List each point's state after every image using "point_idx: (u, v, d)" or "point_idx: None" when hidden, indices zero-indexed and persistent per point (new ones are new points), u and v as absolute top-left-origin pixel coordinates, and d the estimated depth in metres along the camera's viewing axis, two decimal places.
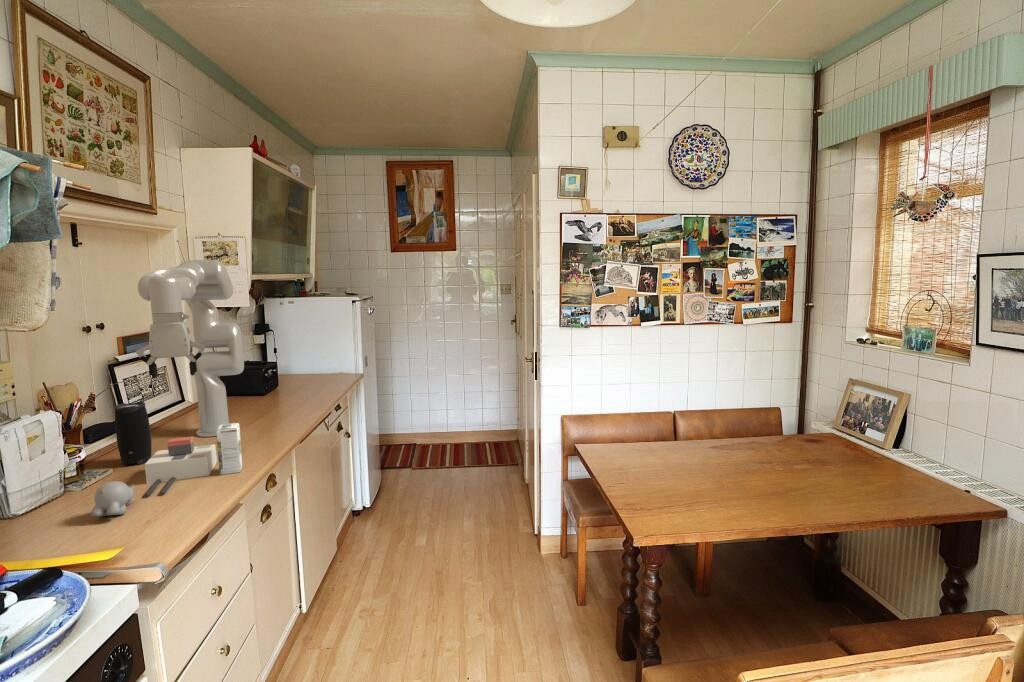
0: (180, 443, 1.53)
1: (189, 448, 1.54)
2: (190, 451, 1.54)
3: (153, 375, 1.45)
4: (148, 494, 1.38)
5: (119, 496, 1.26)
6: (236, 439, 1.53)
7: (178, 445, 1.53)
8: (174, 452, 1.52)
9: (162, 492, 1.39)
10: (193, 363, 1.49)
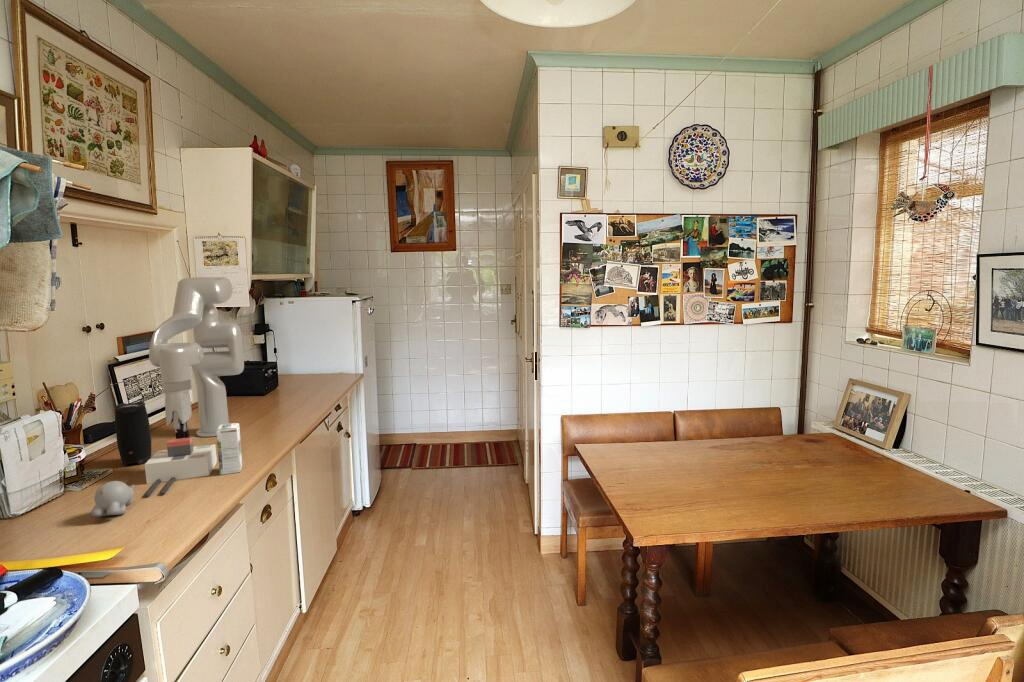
0: (179, 444, 1.52)
1: (188, 449, 1.53)
2: (189, 452, 1.53)
3: None
4: (148, 494, 1.38)
5: (119, 496, 1.26)
6: (236, 439, 1.53)
7: (177, 445, 1.52)
8: (173, 453, 1.52)
9: (162, 492, 1.39)
10: (186, 431, 1.57)
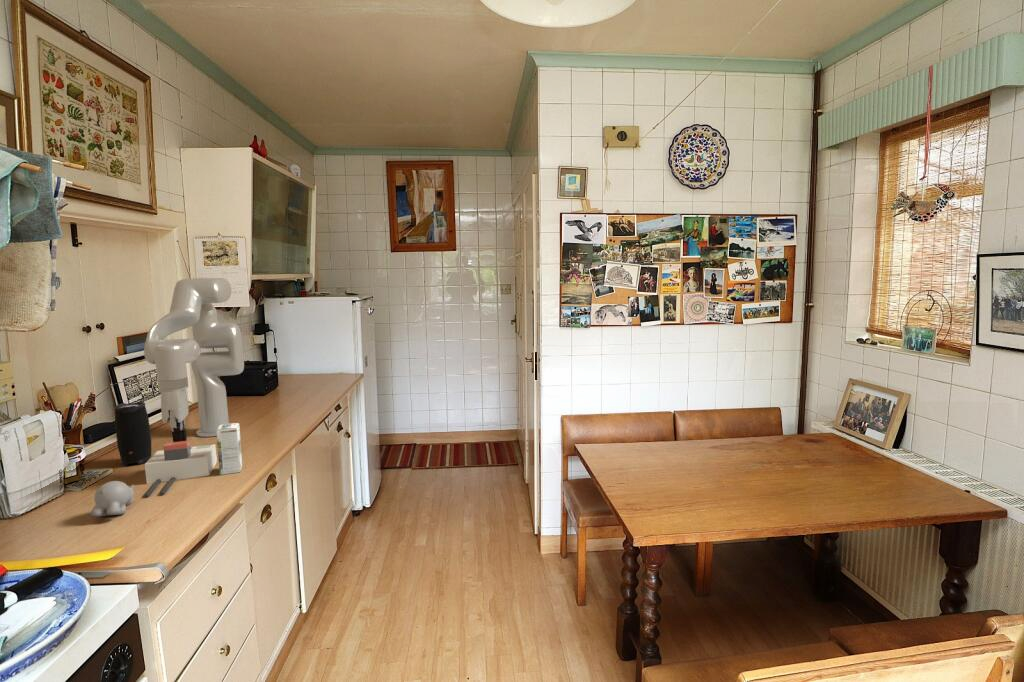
0: (176, 447, 1.49)
1: (186, 452, 1.50)
2: (187, 455, 1.50)
3: (185, 439, 1.54)
4: (148, 494, 1.38)
5: (119, 496, 1.26)
6: (236, 439, 1.53)
7: (174, 449, 1.49)
8: (170, 457, 1.49)
9: (162, 492, 1.39)
10: None
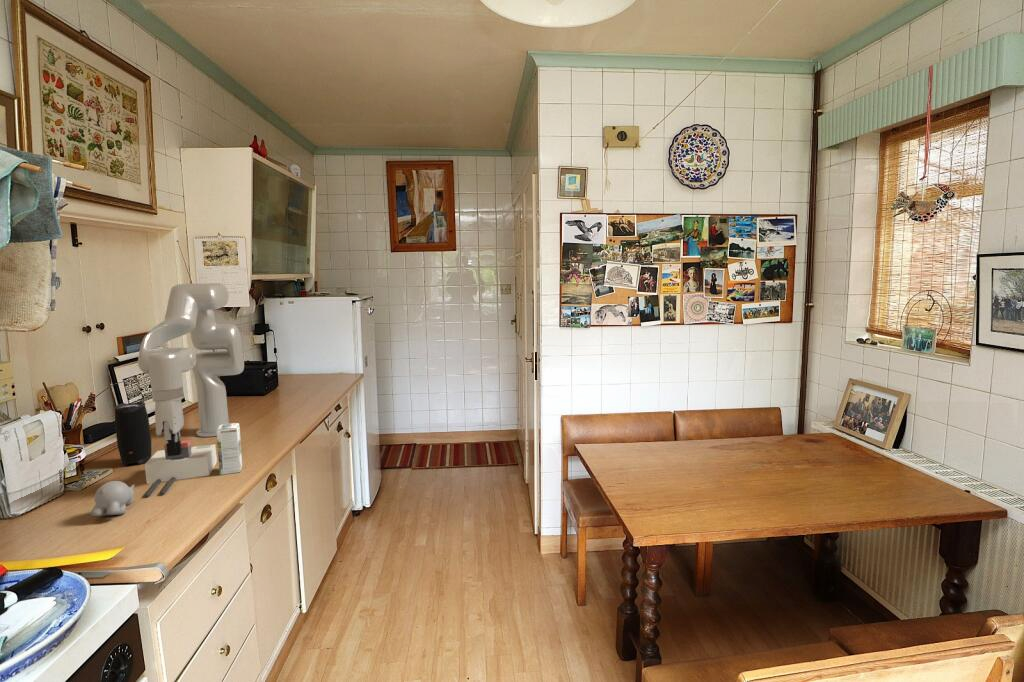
0: None
1: (186, 451, 1.51)
2: (187, 454, 1.51)
3: (180, 451, 1.48)
4: (148, 494, 1.38)
5: (119, 496, 1.26)
6: (236, 439, 1.53)
7: None
8: (171, 456, 1.49)
9: (162, 492, 1.39)
10: None
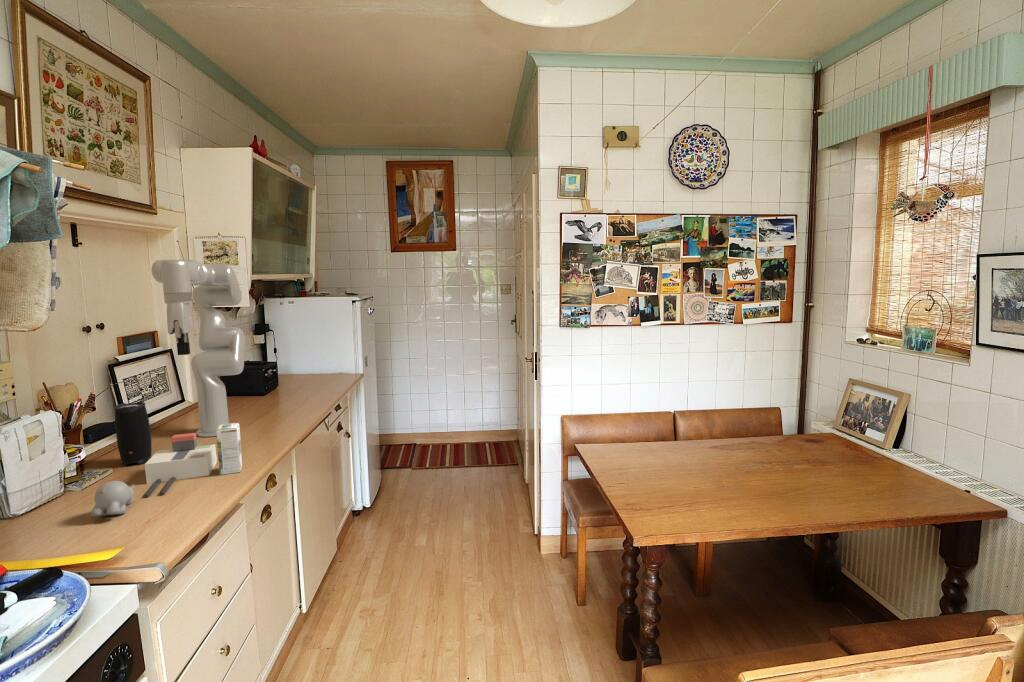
0: (184, 439, 1.56)
1: (192, 444, 1.57)
2: (193, 447, 1.58)
3: (189, 351, 1.64)
4: (148, 494, 1.38)
5: (119, 496, 1.26)
6: (236, 439, 1.53)
7: (181, 440, 1.56)
8: (178, 448, 1.56)
9: (162, 492, 1.39)
10: None
